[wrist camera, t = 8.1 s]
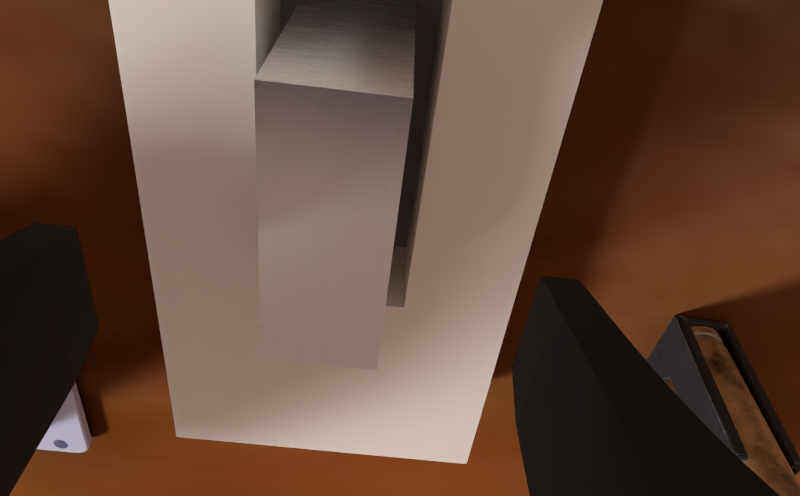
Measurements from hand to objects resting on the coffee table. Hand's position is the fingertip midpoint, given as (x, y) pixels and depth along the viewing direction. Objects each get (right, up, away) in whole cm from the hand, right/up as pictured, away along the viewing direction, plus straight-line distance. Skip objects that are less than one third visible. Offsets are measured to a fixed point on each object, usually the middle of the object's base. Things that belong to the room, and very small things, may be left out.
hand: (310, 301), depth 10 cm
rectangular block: (0, +4, +6) cm, 7 cm away
